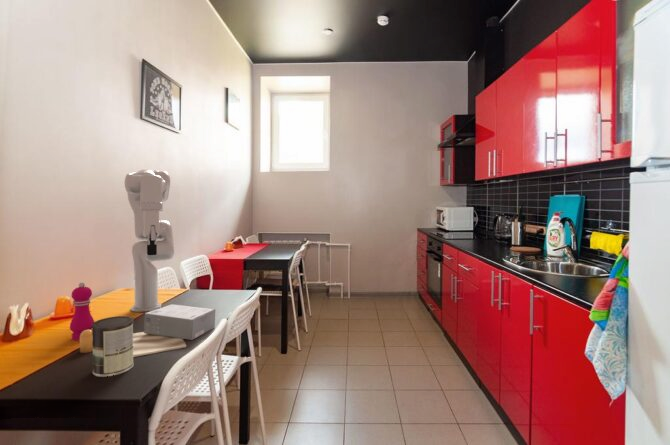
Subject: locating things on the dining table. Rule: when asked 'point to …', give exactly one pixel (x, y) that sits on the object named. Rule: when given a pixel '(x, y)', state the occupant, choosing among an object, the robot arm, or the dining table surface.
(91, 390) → the dining table surface
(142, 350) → the board
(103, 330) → the coffee can
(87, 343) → the salt shaker
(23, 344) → the dining table surface
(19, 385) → the dining table surface
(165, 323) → the hard drive box
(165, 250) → the robot arm
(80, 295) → the pepper mill
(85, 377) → the dining table surface
